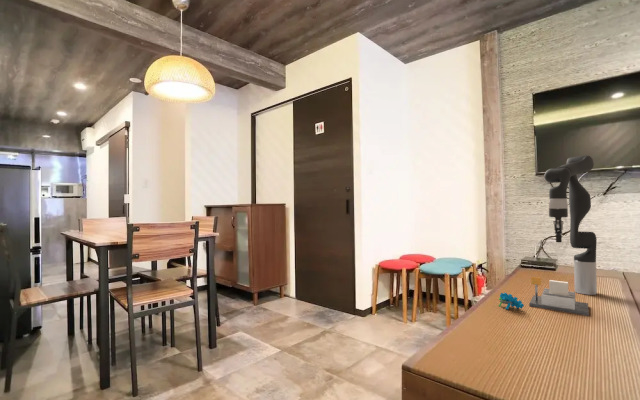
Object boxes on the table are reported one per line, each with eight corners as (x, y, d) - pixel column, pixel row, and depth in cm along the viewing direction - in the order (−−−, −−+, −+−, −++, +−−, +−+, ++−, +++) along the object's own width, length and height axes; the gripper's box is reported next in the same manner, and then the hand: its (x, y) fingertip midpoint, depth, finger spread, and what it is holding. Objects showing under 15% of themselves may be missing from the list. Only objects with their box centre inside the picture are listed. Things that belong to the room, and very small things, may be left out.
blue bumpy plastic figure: (529, 307, 140) (514, 292, 139) (523, 318, 138) (508, 303, 137) (508, 304, 151) (494, 290, 150) (502, 314, 149) (488, 299, 148)
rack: (533, 298, 161) (533, 273, 161) (588, 306, 147) (587, 279, 148) (529, 306, 148) (529, 279, 148) (588, 316, 134) (588, 286, 134)
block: (550, 300, 151) (549, 279, 151) (568, 303, 146) (568, 282, 146) (549, 302, 149) (549, 280, 149) (568, 305, 144) (567, 283, 145)
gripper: (549, 207, 166) (550, 240, 165) (547, 207, 156) (548, 242, 155) (568, 207, 161) (568, 241, 161) (567, 207, 151) (567, 244, 150)
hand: (558, 242), depth 158 cm, fingers closed
